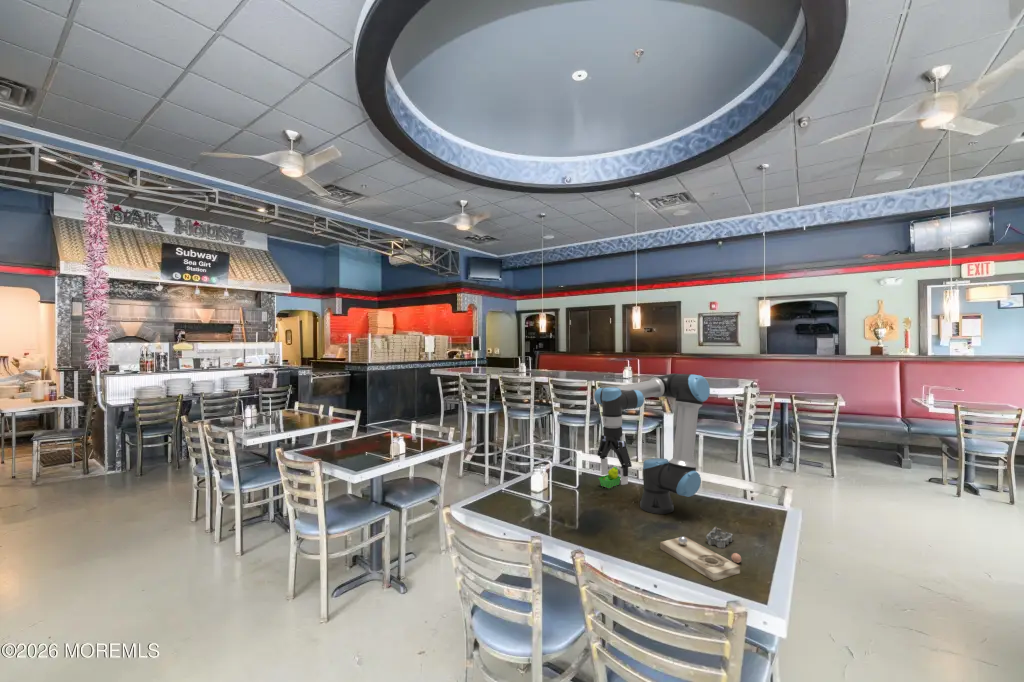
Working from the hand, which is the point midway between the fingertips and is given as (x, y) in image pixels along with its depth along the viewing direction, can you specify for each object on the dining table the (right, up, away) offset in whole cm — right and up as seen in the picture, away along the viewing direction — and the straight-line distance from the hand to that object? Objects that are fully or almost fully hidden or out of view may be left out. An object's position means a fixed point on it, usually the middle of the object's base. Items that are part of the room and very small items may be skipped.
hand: (614, 479), depth 173 cm
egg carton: (+41, -24, -4) cm, 47 cm away
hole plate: (+26, -24, -18) cm, 39 cm away
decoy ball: (+39, -22, -20) cm, 49 cm away
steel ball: (+23, -20, -11) cm, 32 cm away
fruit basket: (+13, -25, +64) cm, 70 cm away
